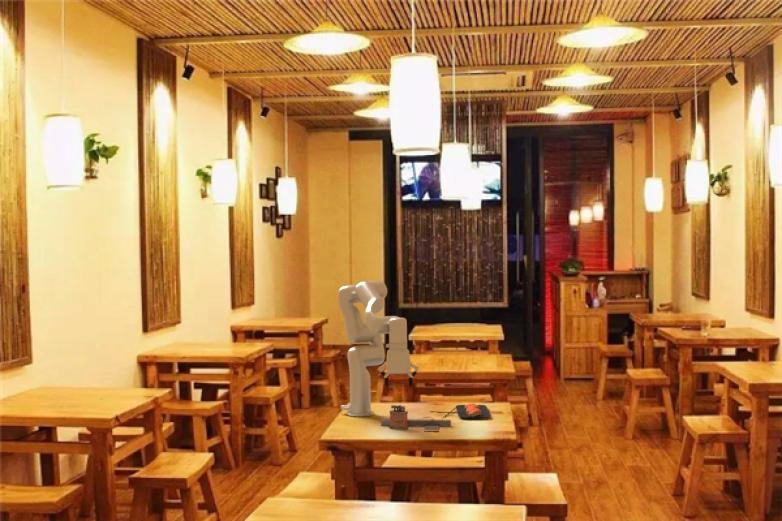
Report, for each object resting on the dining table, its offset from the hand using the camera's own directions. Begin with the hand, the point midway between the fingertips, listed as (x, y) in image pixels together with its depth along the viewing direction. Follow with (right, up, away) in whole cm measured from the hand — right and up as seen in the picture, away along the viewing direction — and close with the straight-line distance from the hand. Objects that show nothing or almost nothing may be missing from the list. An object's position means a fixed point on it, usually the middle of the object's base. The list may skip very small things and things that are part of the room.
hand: (398, 386), depth 365 cm
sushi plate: (+27, -18, +32) cm, 45 cm away
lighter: (0, -18, +1) cm, 18 cm away
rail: (+7, -18, +7) cm, 20 cm away
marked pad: (+14, -18, -1) cm, 23 cm away
